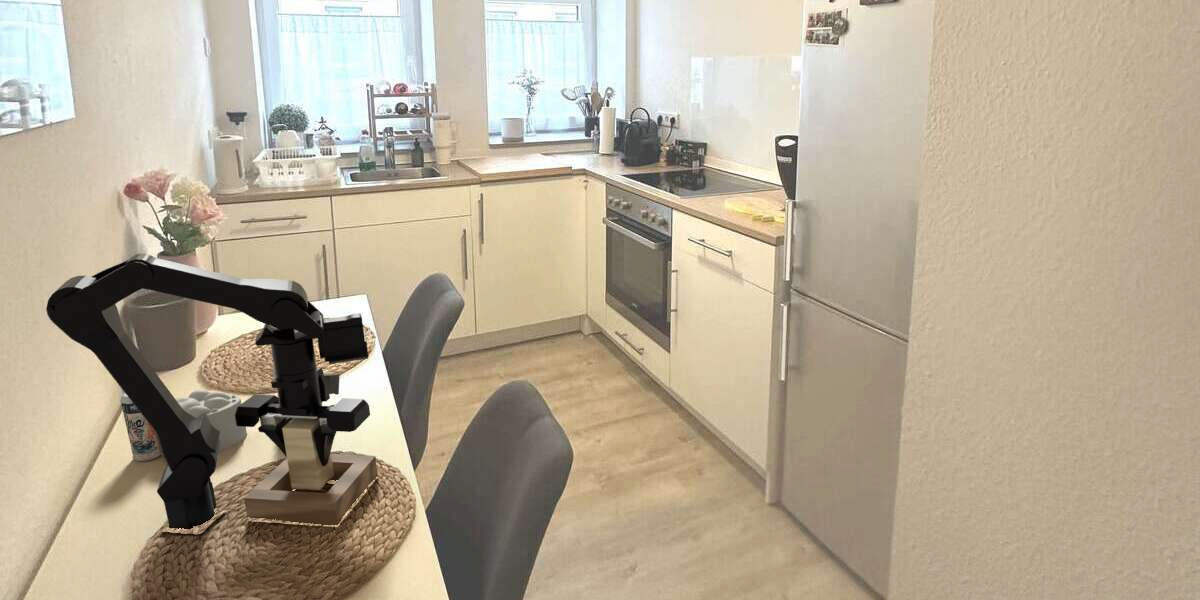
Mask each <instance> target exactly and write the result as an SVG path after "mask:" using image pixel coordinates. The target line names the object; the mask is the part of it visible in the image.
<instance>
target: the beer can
mask: <svg viewBox="0 0 1200 600" xmlns="http://www.w3.org/2000/svg"><path fill="white" fill-rule="evenodd" d="M119 402H120V404H121V409H122V413H123V418H124V423H125V427H126V431H127V435H128V439H129V440H128V441H129V443H130V449H131V453H132V459H133V460H135V461H138V462H149V461H152V460H156V459H157V458H159V457H160V456H161V455H163V453H162V449H161V446H160V443H159V440H158V436H157V434H156V432H155V431H154V429H153V428H152V427H151V426H150V424H149V423H148V422H147V420H146V419H145V418H144V417H143V415H142V414H141V413H140V411H139V410H138V409H137V408H136V406H135V405H134V404H133V403H132V401H131V400H130V399H129V397H128V396H127V395H126V394H125V392H124V391H123V392H122V393H121V397H120V400H119Z"/></svg>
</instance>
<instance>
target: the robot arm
mask: <svg viewBox="0 0 1200 600" xmlns="http://www.w3.org/2000/svg"><path fill="white" fill-rule="evenodd" d="M142 289H143V290H149V291H153V292H158V293H160V294H161V293H162V294H166V295H171V296H175V297H180V298H185V299H188V300H194V301H196V302H197V301H199V302H203V303H208V304H211V305H215V306H221V307H225V308H228V309H234V310H236V311H238V312H241V313H243V314H244V315H246V316H248V317H250V318H251V319H253V320H255V321H256V322H257V321H258V322H260V323H262V324H264V326H263V328H262V329H261V330H260V332H258V333H257V334H256V338H255V342H254V343H255V346H257V347H260V346H261V347H262V346H268V345H269V346H270V349H271V355H272V363H273V369H275V376H276V378H275V379H274V378H273V379H272V380H271V381H270V383H271V384H270V385H271V389H277V395H278V394H279V398H278V396H276V395H275V394H255V393H254V394H253V395H252V396H250V397H249V398H248V399H245V400H244V402H241V403H242V404H241V405H239V406H238V407H237V408H236V410H235V414H234V416H235V422H236V425H237V426H241V427H246V428H254V427H255V426H257V424H258V423H259V422H260V426H258V432H259V433H264V435H266V437H268V438H269V439H270V441H272V442H273V444H275V446H276V447H277V448H278V449H279V450H280V451H281V452H282V454H283V455H284V456H285V458H287V455H286V449H285V442H284V436H283V430H282V428H283V427H284V426H285V425H286V424H287V423H289V422H290V421H291V420H292V419H293V418H306V419H319V421H320V426H319V427H318V428H317V429H316V430H315V431H314V432H313V435H314V439H315V443H316V447H317V451H318V455H319V459H320V462H321V464H322V466H326V465H327V463H328V461H329V457H330V452H331V453H332V447H333V443H334V440H335V436H336V434H337V432H342V433H343V432H344V433H348V432H349V433H351V432H354V431H356V430H358V428H359V427H361V425H362V424H363V423H364V422H365V421H366V420H367V419H368V418H369V417H370V416H371V410H370V404H369V403H368V401H367V400H365V398H349V397H347V398H345V397H343V398H341V399H340V400H339V401H337V403H336V404H332V405H323V402H328V401H329V400H330V398H331V396H330V395H339V394H340V374H339V373H324V370H323V368H322V367H321V366H320V367H318V366H317V359H316V352H315V344H314V339H317V344H318V352H319V358H320V359H324V362H325V363H328V365H333V364H340V363H347V362H348V363H349V362H354V361H355V362H356V361H363V360H369V350H368V341H367V337H366V332H365V329H364V324H363V318H362V317H363V316H362V314H361V313H360V312H359V313H352V314H349V315H345V316H338V317H330V318H324V314H323V313H322V312H321V311H320V310H319V309H318V308H317V307H316V306H315V305H314V304H313V303H312V302H311V301H309V299H308V294H307V292H306V290H305V288H304V287H303V285H302V284H300V283H299V282H297V281H294V280H291V279H279V278H266V277H264V278H242V277H237V276H234V275H229V274H225V273H221V272H217V271H213V270H208V269H204V268H199V267H195V266H191V265H187V264H183V263H179V262H174V261H170V260H166V259H162V258H159V257H155V256H153V255H151V254H149V253H143V252H141V253H137V254H136V253H135V254H134V255H132V256H131V257H130V258H128V259H126V260H125V261H122V262H119V263H118V264H117V263H116V264H115V265H113V266H111V267H108V268H105V269H103V270H101V271H99V272H98V273H96V274H93V275H91V276H89V275H77V276H73V277H70V278H69V279H68V280H66V281H64V282H63V283H62V284H61V285H60V286H59V287H58V288H57V289H56V290H55V291H54V292H53V293H52V294H51V295H50V297H49V299H48V300H47V304H46V307H45V309H46V315H47V316H48V319H49V320H50V321H51V323H52V324H53V325H55V326H56V327H57V328H58V329H59V330H60V331H62V333H64V334H65V335H66V336H67V337H68V338H70V339H71V341H74V342H76V343H77V344H80V345H81V346H83V348H85V349H88V350H90V351H91V352H93V354H94V356H96V357H97V359H98V360H99V361H100V363H101V364H102V365H103V366H104V368H105V369H106V370H107V372H108V373H109V374H110V376H111V377H112V378H113V379H114V381H115V382H116V383H117V385H118V386H119V387H120V389H121V390H122V391H123V393H124V392H125V394H126V395H127V396H128V397H129V399H130V400H131V401H132V403H133V404H134V405H135V406H136V408H137V409H138V410H139V411H140V413H141V414H142V415H143V417H144V418H145V419H146V420H147V422H148V423H149V424H150V426H151V427H152V428H153V429H154V431H155V432H156V434H157V436H158V440H159V443H160V446H161V449H162V455H163V458H164V460H165V462H166V463H165V466H164V469H163V472H162V475H161V478H160V481H159V485H158V486H157V489H156V493H157V495H158V496H159V497H160V499H161V500H162V502H163V504H164V509H165V513H166V519H167V523H169V528H178V529H179V528H181V529H182V528H184V529H191V528H193V526H197V525H201V524H203V523H205V522H206V521H208V520H210V519H211V518H212V517H213V516H214V514H215V512H214V509H215V508H217V502H216V500H217V499H216V497H215V496H216V495H215V492H214V491H215V490H214V485H213V482H212V480H211V477H212V475H213V474H214V473H215V471H216V468H217V462H218V459H219V454H220V451H219V450H220V440H219V436H220V431H219V430H217V429H215V428H214V427H213V426H212V425H211V423H210V421H209V419H208V417H207V415H206V414H205V413H202V414H201V415H200V416H198V417H197V418H196V417H194V416H192V415H190V414H188V413H187V412H185V411H184V410H183V409H182V407H181V406H180V405H179V403H178V402H177V401H176V398H175V397H174V395H173V394H172V393H171V391H170V390H169V389H168V387H167V386H166V385H165V383H164V382H163V381H162V379H161V378H160V377H159V376H158V374H157V373H156V371H155V370H154V369H153V367H152V365H150V364H149V362H148V361H147V359H146V358H145V357H144V355H143V354H142V353H141V351H140V350H139V349H138V347H137V346H136V344H135V343H134V342H133V341H132V339H131V338H130V337H129V335H128V334H127V333H126V331H125V329H124V326H123V323H122V320H121V316H120V314H119V310H118V307H117V305H116V304H117V303H119V302H121V301H123V300H124V299H126V298H128V297H129V296H131V295H133V294H134V293H136V292H139V291H140V290H142ZM279 401H280V403H279ZM162 528H163V526H161V528H160V529H162Z"/></svg>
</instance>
